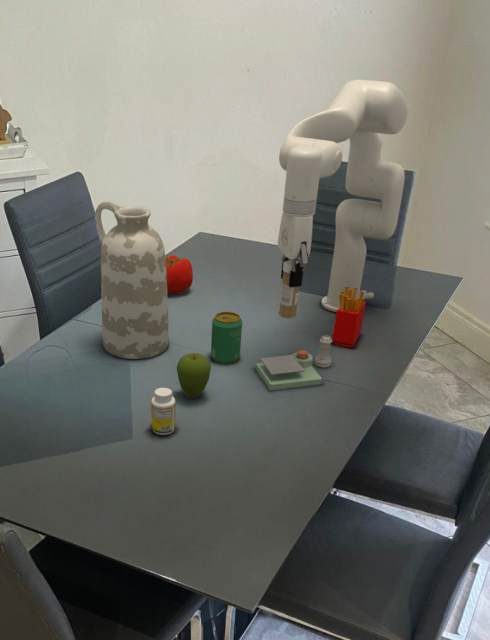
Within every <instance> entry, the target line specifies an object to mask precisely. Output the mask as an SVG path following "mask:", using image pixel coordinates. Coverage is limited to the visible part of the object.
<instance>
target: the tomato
mask: <svg viewBox="0 0 490 640" xmlns="http://www.w3.org/2000/svg"><path fill="white" fill-rule="evenodd" d="M165 259H166V276H167V294H169V295H179V294H180V295H181V294H183V293H184V292H185V291H186V290H189V288H190V287H191V286H192V284H193V279H194V274H193V273H194V272H193V266H192V263H191V261H190V259H188V258H185V257H182V258H181V257H178V256H177V255H172V254H171V255H169V256H168V257H166V256H165Z"/></svg>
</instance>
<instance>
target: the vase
mask: <svg viewBox="0 0 490 640" xmlns="http://www.w3.org/2000/svg"><path fill="white" fill-rule="evenodd" d="M104 210H107V211H110V212H112V213H113V216H114V218H115V220H116V225H115V226H113V227H112V228H110V230H109V231H108V232H107V234H106V232H105V228H104V226H103V221H102V213H103V211H104ZM150 217H151V211H150V209H148V208H147V207H144V206H139V205H138V206H137V205H132V206H131V205H130V206H128V205H127V206H120V205H118V204H115V203H113V202H110V201H103V202H100V203H99V204H98V205H97V207H96V209H95V211H94V225H95V228H96V233H97V235H98V239H99V243H100V246H101V251H100V252H101V253H100V279H101V280H100V282H101V285H100V286H101V329H102V331H101V332H102V345H103V348H104V350H105V351H106V352H107V353H108V354H110V355H112V356H113V357H117V358H121V359H125V360H126V359H128V360H143V359H148V358H149V359H150V358H153V357H156V356H159V355H161V354H163V353H164V352H165V351H166V350H167V349H168V347H169V342H170V341H169V339H170V338H169V336H170V335H169V332H170V331H169V300H168V299H169V297H168V293H167V276H166V259H165V258H166V251H165V245H164V242H163V239H162V237H161V236H160V233H158V232H157V230H156V229H155V228H153V227H152V226H150V224H149V218H150Z"/></svg>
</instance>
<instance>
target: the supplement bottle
mask: <svg viewBox="0 0 490 640" xmlns="http://www.w3.org/2000/svg"><path fill="white" fill-rule="evenodd" d="M150 407H151V408H150V409H151V430H152V432H154V433H155V434H157V435H161V436H167V435H170V434H172V433H174V431H175V430H176V398H175V397H174V396H173V391H172V389H170V388H168V387H159V388H156V389H155V390H154V396H153V397H152V398H151V401H150Z"/></svg>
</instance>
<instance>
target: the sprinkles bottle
mask: <svg viewBox="0 0 490 640" xmlns="http://www.w3.org/2000/svg"><path fill="white" fill-rule="evenodd" d="M299 262H300V260H298V261H296V264H297V263H299ZM283 263H284V264H283V279H282V281H281V286H280V287H281V288H280V299H279V310H278V316H279V317H282V318H284V319H293V318H296V316H297V308H298V302H299V292H300V291H299V290H300V287H289V277H290V271H292V260H288V261H285V262H283Z"/></svg>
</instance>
